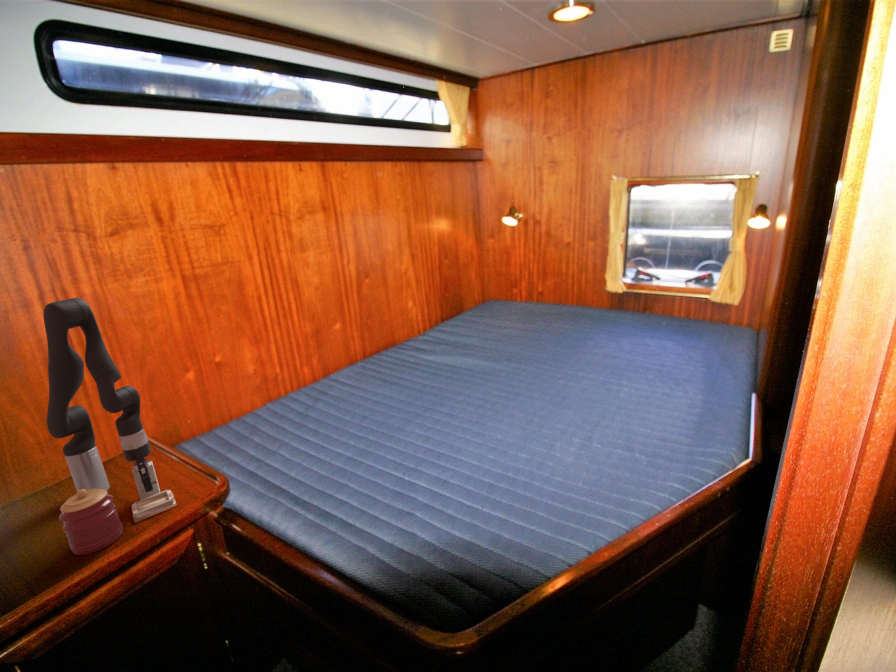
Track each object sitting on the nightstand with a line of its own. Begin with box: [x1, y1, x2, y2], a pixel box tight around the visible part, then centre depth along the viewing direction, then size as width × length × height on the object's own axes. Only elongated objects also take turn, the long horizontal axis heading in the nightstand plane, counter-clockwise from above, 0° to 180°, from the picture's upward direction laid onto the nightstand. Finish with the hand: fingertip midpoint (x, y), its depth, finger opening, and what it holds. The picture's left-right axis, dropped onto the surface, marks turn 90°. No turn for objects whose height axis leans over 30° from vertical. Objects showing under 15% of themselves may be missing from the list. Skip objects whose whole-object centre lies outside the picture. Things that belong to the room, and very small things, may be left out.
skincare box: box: [131, 460, 161, 500], centre depth 159 cm, size 6×4×12 cm
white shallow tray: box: [131, 489, 178, 524], centre depth 153 cm, size 10×12×2 cm
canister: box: [58, 489, 124, 556], centre depth 136 cm, size 13×13×18 cm
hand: (148, 487), depth 160 cm, fingers closed on skincare box, 4 cm apart
